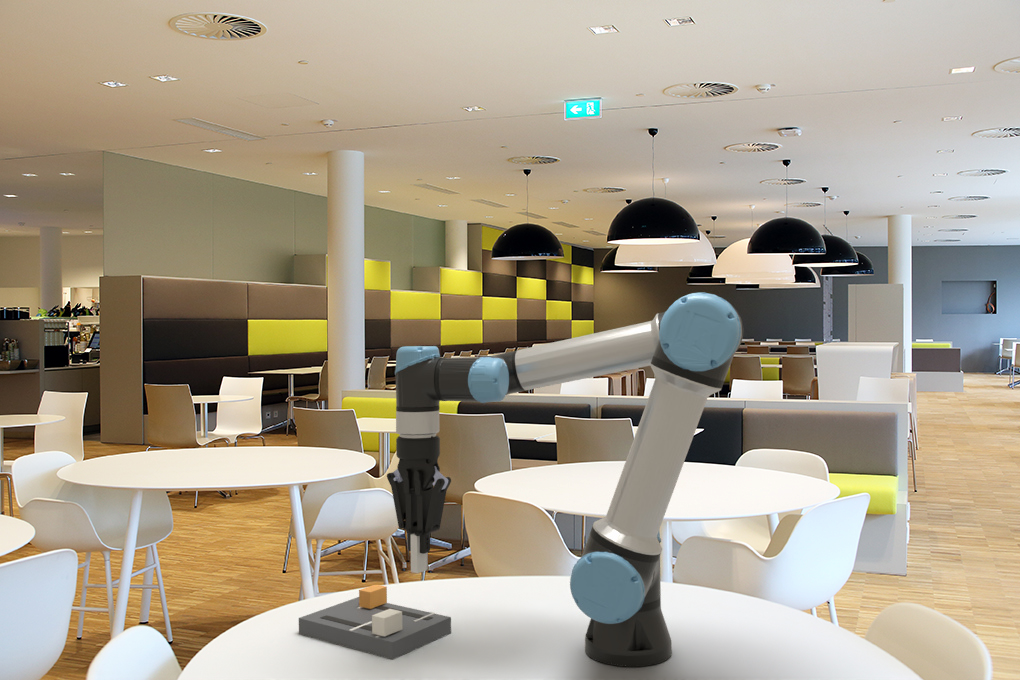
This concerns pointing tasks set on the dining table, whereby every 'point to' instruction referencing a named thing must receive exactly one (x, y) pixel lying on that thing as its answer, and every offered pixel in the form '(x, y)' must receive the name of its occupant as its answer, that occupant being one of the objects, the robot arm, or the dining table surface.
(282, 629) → the dining table surface
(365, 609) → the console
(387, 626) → the fader cream
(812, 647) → the dining table surface
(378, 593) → the fader orange
